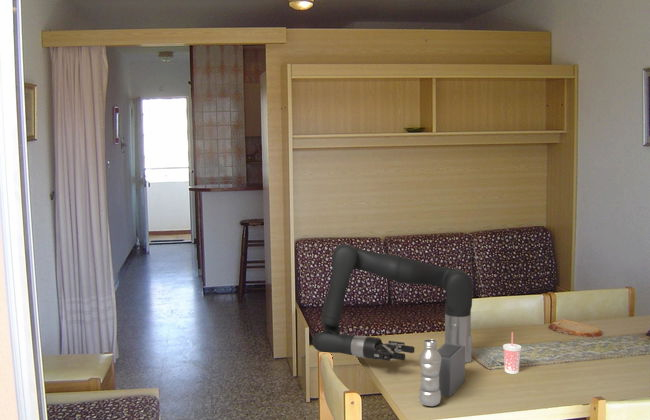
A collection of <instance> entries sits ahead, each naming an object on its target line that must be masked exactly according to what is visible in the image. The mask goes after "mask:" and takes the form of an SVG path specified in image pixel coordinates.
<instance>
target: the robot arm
mask: <svg viewBox="0 0 650 420" xmlns="http://www.w3.org/2000/svg"><path fill="white" fill-rule="evenodd" d="M331 259H332V270H331V271H332V272H331V278H330V282H329V283H330V284H329V287H328V290H327V293H326V297H325V300H324V303H323V307H322V312H321V317H320V322H321V323H322V324H323V330H322V331H320V332H317V333H315V334H314V336H313V337H312V340H311V342H312V346H313V347H314V349H315V350H316V351H318V352H322V353H333V354H334V353H335V354H337V353H338V354H344V355H348V356H349V355H350V356H355V357H358V358H364V359H371V360H377V361H378V360H381V361H385V362H386V361H387V362H391V361H393V360H397V361H398V360H399V361H405V360H406V354H405V353H407V354H408V353H410V354H414V353H415V347H414V346H412V345H406V344H405V342H403V341H396V340H395V341H394V340H388V342H385V343H383V341H382V339H381V338H379V337H375V336H367V335H356V334H355V335H354V334H345V333H344V334H340V330H341V329H340V328H341V326H340V322H341V317H342V315H343V309H344V304H345V301H346V293H347V289H348V285H349V281H350V278H351V275H352V273H353V271H354V270H358V271H364V272H369V273H371V274H373V275H376V276H378V277H380V278H384V279H387V280H390V281H393V282H398V283H402V284H407V285H408V284H409V285H429V286H434V287H437V288H441V289H443V290H446V292H445V294H446V296H445V299H446V300H445V301H446V302H445V307H444V343H447V344H454V345H462V346H465V364H466V363H471V362H472V335H471V329H472V328H471V326H472V325H471V324H472V323H471V322H472V321H471V320H472V319H471V317H472V316H471V315H472V306H473V281H472V278H471V277H470V275H469V274H468V273H467V272H466V271H464V270H463V269H460V268H455V267H454V268H453V267H446V266H445V267H444V266H439V265H438V266H437V265H432V264H429V263H426V262H423V261H419V260H416V259H412V258H408V257H405V256H399V255H396V254H395V255H394V254H389V253H379V252H372V251H370V250H369V251H368V250H365V249H362V248H359V247H355V246H353V245H351V244H347V243H342V244H339V245H337V246H336V247H335V248H334V249H333V252H332V256H331Z"/></svg>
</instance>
